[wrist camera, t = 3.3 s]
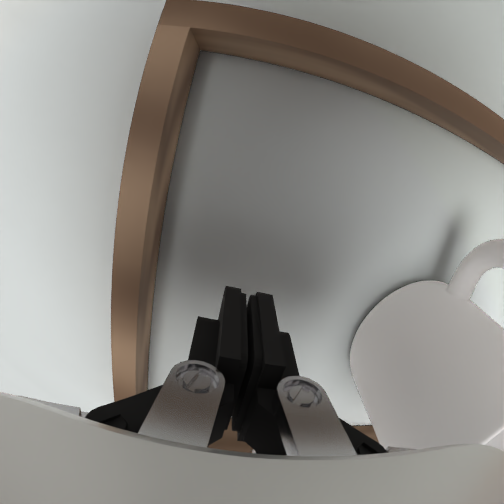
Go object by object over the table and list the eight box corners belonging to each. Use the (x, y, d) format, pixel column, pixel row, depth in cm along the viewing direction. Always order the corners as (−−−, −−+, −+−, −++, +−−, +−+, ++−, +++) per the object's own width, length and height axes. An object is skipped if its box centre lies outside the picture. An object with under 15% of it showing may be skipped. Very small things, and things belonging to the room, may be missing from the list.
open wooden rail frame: (181, 24, 11) (167, -2, 8) (545, 176, 13) (575, 185, 10) (130, 407, 18) (118, 440, 15) (426, 429, 20) (439, 453, 18)
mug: (401, 191, 14) (576, 274, 4) (499, 232, 15) (621, 305, 5) (325, 384, 18) (368, 533, 8) (424, 387, 18) (486, 494, 9)
